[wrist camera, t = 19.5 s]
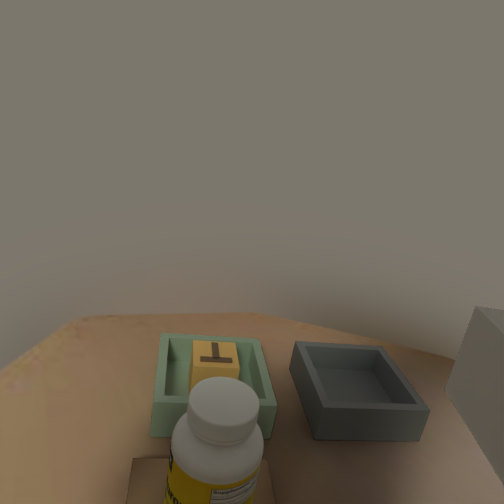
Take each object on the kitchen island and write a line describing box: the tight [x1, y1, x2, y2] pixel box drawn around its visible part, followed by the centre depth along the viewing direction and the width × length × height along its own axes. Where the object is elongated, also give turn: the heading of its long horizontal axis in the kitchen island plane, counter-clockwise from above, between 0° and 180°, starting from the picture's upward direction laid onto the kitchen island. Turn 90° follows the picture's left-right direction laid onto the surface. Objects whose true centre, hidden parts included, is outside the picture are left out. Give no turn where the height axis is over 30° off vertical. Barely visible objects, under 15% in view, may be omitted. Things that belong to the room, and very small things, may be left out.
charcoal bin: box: [289, 341, 430, 441], centre depth 41 cm, size 10×10×4 cm
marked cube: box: [188, 340, 240, 396], centre depth 38 cm, size 4×4×4 cm
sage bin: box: [150, 333, 277, 439], centre depth 38 cm, size 10×10×4 cm
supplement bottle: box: [164, 377, 264, 504], centre depth 25 cm, size 5×5×10 cm
